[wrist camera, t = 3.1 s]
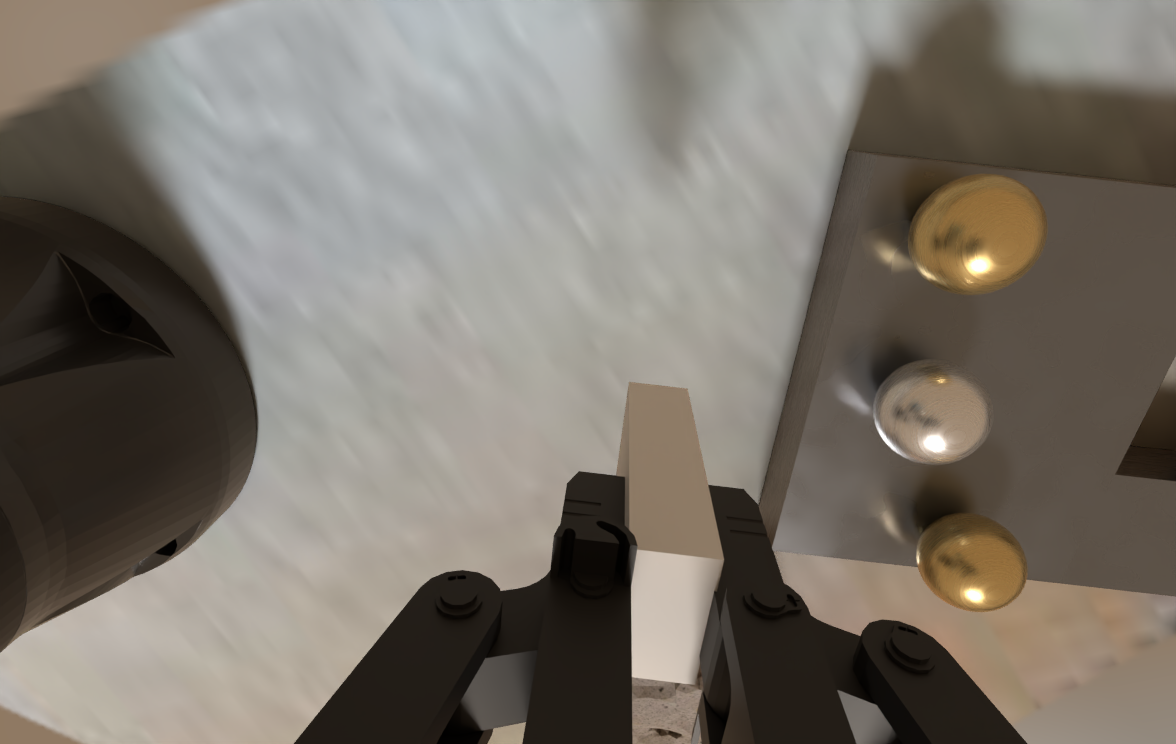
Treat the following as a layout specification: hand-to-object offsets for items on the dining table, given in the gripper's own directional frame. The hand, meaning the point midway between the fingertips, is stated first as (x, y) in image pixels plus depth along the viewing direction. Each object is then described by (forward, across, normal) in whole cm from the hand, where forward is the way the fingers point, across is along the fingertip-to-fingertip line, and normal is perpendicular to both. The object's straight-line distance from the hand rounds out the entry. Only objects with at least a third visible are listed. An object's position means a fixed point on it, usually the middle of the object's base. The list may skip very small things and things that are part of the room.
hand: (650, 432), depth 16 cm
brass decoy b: (+3, +12, -5) cm, 13 cm away
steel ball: (+3, +9, 0) cm, 9 cm away
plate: (+7, +15, 0) cm, 16 cm away
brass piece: (+3, +8, +6) cm, 10 cm away
